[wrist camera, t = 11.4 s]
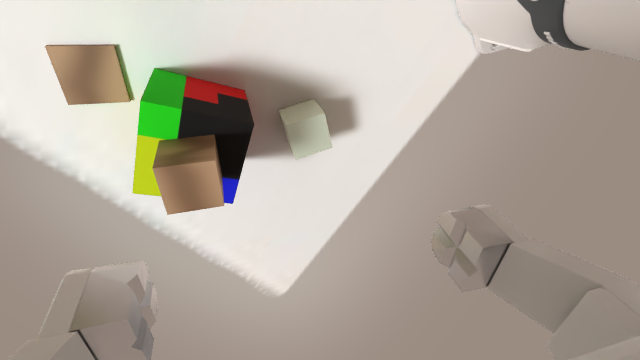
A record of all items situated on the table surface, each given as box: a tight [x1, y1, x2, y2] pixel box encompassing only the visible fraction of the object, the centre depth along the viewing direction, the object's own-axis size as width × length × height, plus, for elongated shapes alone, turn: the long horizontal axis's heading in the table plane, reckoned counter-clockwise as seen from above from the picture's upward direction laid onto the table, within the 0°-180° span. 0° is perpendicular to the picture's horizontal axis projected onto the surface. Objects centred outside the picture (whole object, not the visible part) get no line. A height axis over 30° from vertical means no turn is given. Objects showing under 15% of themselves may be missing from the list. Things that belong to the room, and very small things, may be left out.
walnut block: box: [152, 135, 224, 215], centre depth 31 cm, size 5×5×5 cm
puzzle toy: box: [133, 68, 254, 204], centre depth 37 cm, size 10×10×10 cm
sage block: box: [279, 99, 332, 159], centre depth 43 cm, size 5×5×5 cm
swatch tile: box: [45, 45, 130, 105], centre depth 35 cm, size 6×6×1 cm
